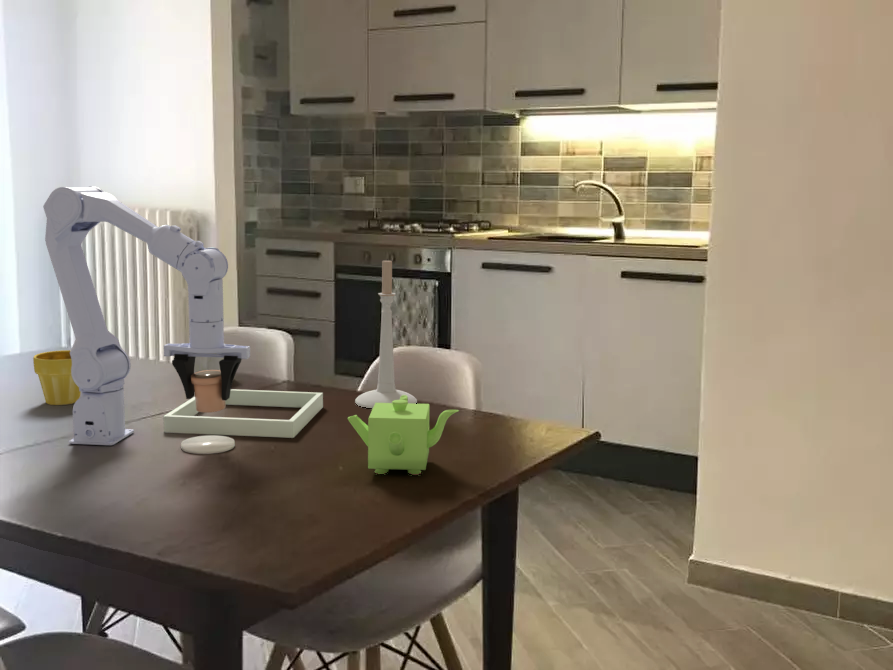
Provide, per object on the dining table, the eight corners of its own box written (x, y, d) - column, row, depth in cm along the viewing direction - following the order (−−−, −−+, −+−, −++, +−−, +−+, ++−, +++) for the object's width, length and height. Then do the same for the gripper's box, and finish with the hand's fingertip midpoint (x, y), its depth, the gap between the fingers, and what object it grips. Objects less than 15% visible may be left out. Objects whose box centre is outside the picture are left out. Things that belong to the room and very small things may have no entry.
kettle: (403, 450, 173) (404, 387, 171) (463, 468, 163) (464, 401, 161) (335, 467, 162) (336, 399, 160) (394, 487, 152) (395, 416, 151)
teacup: (197, 373, 234) (196, 340, 233) (242, 375, 233) (241, 341, 232) (173, 386, 221) (172, 350, 219) (220, 388, 219) (219, 352, 218)
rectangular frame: (293, 437, 180) (293, 421, 179) (163, 432, 182) (163, 416, 181) (322, 407, 203) (322, 392, 203) (207, 402, 205) (207, 388, 205)
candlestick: (389, 393, 217) (390, 255, 212) (429, 403, 208) (431, 259, 203) (342, 402, 208) (342, 257, 203) (383, 413, 199) (383, 262, 194)
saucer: (225, 455, 168) (225, 450, 168) (173, 452, 169) (173, 448, 169) (241, 440, 177) (241, 436, 177) (191, 438, 178) (191, 434, 178)
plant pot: (54, 410, 197) (51, 361, 196) (25, 402, 203) (23, 354, 202) (100, 401, 205) (98, 354, 204) (71, 393, 211) (69, 348, 210)
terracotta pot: (222, 413, 170) (219, 379, 169) (189, 413, 171) (185, 379, 169) (232, 402, 176) (229, 369, 174) (200, 402, 176) (197, 369, 175)
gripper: (254, 318, 173) (255, 394, 175) (173, 315, 175) (175, 391, 177) (242, 324, 166) (244, 404, 168) (158, 321, 168) (160, 400, 170)
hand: (208, 398), depth 172 cm, fingers closed on terracotta pot, 6 cm apart
